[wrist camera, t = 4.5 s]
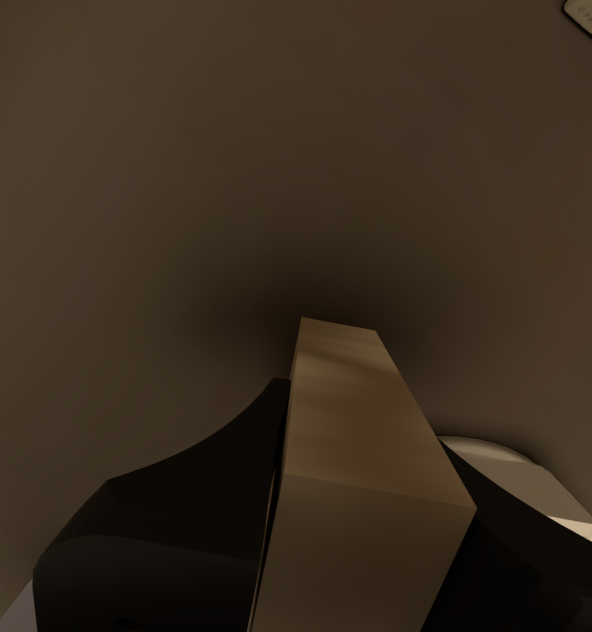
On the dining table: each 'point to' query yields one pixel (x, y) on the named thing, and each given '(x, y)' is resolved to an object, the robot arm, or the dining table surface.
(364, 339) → the tan wooden block
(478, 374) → the dining table surface
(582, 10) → the box
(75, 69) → the dining table surface
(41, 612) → the robot arm
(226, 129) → the dining table surface
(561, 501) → the octagonal cream tray
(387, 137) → the dining table surface
